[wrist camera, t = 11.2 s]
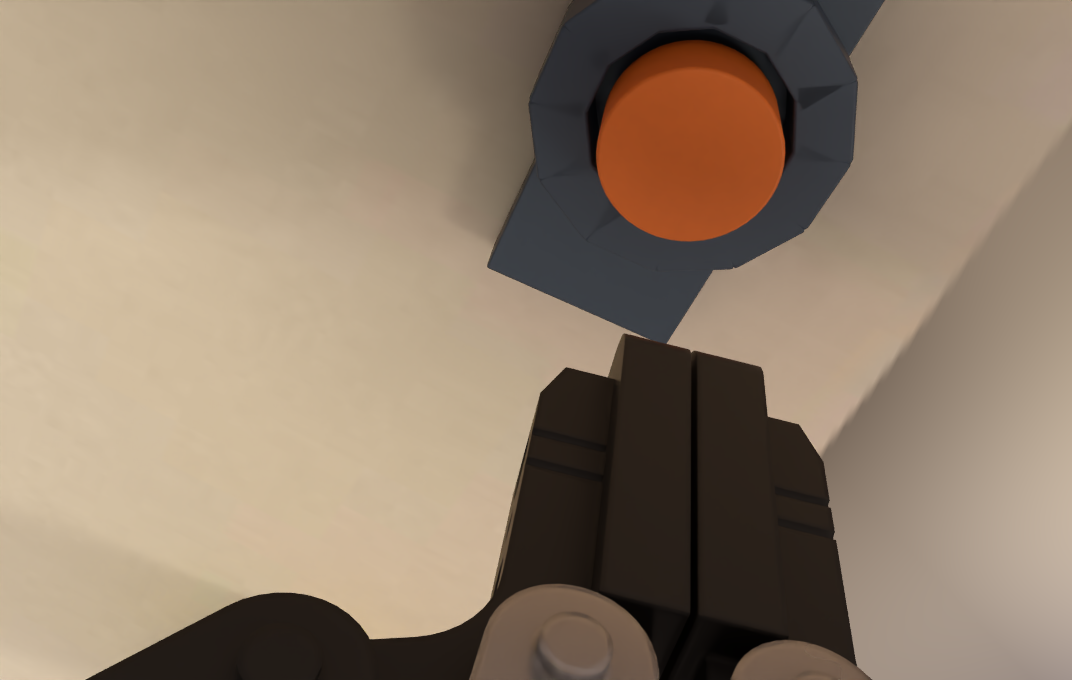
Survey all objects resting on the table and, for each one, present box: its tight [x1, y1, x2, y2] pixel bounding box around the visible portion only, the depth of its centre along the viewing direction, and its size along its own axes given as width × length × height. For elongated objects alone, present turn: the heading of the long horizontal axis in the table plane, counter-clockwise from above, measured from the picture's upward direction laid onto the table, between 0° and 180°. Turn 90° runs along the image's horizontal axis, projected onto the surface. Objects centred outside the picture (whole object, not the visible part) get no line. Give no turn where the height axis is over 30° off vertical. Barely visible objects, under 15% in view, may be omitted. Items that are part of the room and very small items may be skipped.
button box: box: [487, 0, 885, 344], centre depth 21 cm, size 12×6×3 cm, turn 157°
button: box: [596, 40, 785, 241], centre depth 20 cm, size 4×4×2 cm
